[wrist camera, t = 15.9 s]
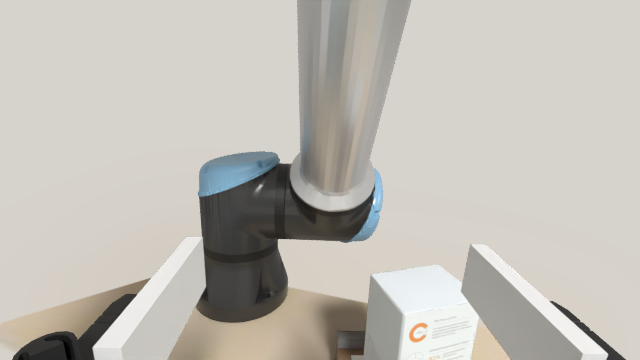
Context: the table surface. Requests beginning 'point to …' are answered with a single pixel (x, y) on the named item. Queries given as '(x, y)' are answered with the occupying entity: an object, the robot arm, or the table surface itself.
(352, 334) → the tray
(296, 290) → the table surface
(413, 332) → the small box
